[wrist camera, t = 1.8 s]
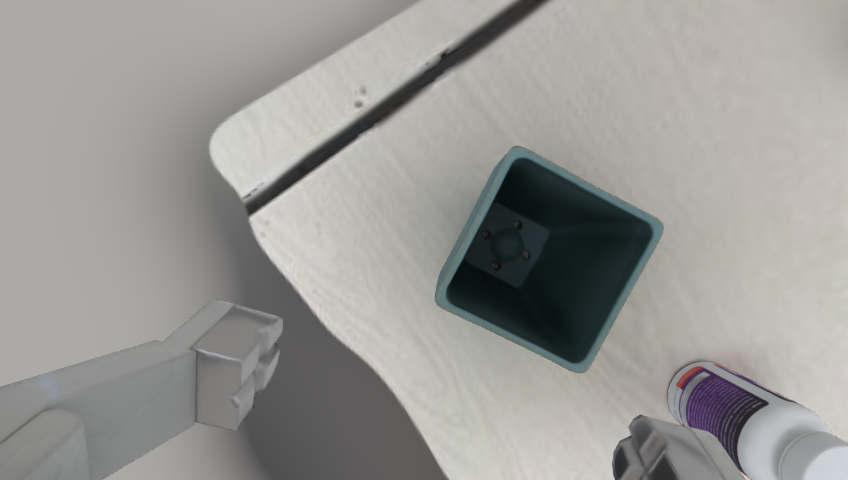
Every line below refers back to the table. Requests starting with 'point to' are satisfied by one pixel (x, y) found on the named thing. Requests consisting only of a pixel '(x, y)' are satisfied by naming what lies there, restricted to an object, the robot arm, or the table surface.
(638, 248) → the flower pot
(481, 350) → the table surface
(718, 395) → the pill bottle
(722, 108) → the table surface
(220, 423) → the robot arm
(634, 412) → the table surface
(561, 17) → the table surface
